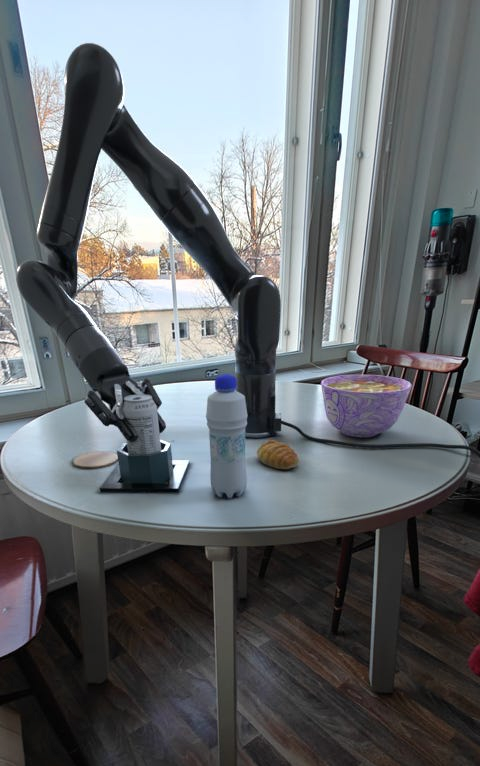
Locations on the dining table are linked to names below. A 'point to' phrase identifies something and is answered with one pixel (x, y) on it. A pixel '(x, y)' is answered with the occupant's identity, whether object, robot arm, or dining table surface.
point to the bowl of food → (364, 403)
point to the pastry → (277, 455)
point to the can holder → (146, 472)
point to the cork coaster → (95, 459)
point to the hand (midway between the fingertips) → (149, 434)
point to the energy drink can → (142, 423)
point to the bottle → (227, 437)
